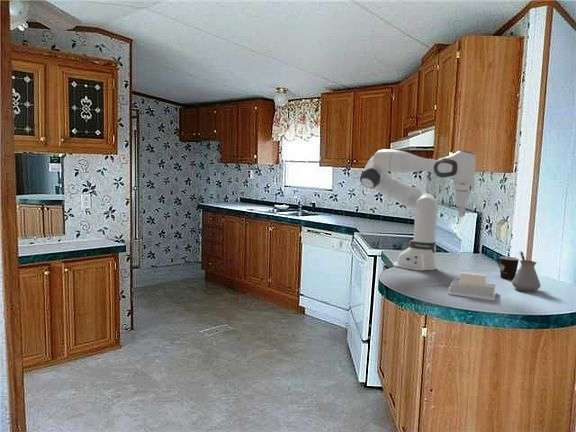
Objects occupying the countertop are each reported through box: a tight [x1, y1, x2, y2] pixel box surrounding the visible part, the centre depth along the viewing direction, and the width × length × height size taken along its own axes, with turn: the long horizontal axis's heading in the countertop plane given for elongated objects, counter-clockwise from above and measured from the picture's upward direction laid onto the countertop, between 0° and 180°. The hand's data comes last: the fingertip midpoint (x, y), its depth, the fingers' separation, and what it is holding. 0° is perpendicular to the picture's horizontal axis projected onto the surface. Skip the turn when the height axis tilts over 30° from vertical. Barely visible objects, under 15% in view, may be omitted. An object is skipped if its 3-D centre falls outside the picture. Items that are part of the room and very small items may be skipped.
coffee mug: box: [496, 256, 520, 281], centre depth 233 cm, size 12×9×10 cm
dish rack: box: [447, 278, 497, 301], centre depth 200 cm, size 18×13×4 cm
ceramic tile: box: [459, 271, 487, 288], centre depth 197 cm, size 10×2×8 cm, turn 65°
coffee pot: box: [511, 250, 542, 293], centre depth 214 cm, size 21×12×15 cm, turn 164°
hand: (461, 216), depth 217 cm, fingers open, 8 cm apart
